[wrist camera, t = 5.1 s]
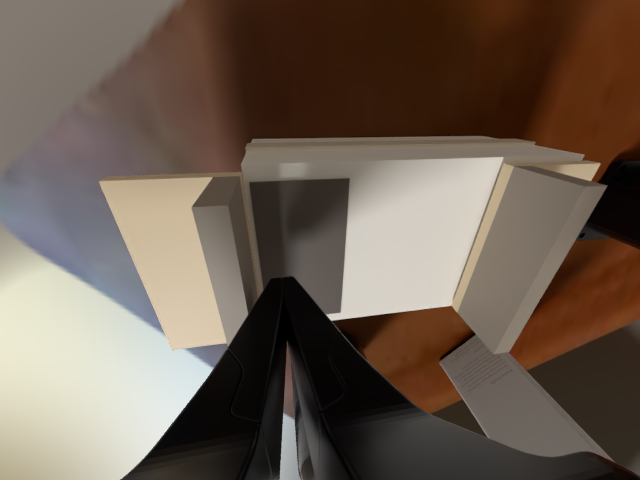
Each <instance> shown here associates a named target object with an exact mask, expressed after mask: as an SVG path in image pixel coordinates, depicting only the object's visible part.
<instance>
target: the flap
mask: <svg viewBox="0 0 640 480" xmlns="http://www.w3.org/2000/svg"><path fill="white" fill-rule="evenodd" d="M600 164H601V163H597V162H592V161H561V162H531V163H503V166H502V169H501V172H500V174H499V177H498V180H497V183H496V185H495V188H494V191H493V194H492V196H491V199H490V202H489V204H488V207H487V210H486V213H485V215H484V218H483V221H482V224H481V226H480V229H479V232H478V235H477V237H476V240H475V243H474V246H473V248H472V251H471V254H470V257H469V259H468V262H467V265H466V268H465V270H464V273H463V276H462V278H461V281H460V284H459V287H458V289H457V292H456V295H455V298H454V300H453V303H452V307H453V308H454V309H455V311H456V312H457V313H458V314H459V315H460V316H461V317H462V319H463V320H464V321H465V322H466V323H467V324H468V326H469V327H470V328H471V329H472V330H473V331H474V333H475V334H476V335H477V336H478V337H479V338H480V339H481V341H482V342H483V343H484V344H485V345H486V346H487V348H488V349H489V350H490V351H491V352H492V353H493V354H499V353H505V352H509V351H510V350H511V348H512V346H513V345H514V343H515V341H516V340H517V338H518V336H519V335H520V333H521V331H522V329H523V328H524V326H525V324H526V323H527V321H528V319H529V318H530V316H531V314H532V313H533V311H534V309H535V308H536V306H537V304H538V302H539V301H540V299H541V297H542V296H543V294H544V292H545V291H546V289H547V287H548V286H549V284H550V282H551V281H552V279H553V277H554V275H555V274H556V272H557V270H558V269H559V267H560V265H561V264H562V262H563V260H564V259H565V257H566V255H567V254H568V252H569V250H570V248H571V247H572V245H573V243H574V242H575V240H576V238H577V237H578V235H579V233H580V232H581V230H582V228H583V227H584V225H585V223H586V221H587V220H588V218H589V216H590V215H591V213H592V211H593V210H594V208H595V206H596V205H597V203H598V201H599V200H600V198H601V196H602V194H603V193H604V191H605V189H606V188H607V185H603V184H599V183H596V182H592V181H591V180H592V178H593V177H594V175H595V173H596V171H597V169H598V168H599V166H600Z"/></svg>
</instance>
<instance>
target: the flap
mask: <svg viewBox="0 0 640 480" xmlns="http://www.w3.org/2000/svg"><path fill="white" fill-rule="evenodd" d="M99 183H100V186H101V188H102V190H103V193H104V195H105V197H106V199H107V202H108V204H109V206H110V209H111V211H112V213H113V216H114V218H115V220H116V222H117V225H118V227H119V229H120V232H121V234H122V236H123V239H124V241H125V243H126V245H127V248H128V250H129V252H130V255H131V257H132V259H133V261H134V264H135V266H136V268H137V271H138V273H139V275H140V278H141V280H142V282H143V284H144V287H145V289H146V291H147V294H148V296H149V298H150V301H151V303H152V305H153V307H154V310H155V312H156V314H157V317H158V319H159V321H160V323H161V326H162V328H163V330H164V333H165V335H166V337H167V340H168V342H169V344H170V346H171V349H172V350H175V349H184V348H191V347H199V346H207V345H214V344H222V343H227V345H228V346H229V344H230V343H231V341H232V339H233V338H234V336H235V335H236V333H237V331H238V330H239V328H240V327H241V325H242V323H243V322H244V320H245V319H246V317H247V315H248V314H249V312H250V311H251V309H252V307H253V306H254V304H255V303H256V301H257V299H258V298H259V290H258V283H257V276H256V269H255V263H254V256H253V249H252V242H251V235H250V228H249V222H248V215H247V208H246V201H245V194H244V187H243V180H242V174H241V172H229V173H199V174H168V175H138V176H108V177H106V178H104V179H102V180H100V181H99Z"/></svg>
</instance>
